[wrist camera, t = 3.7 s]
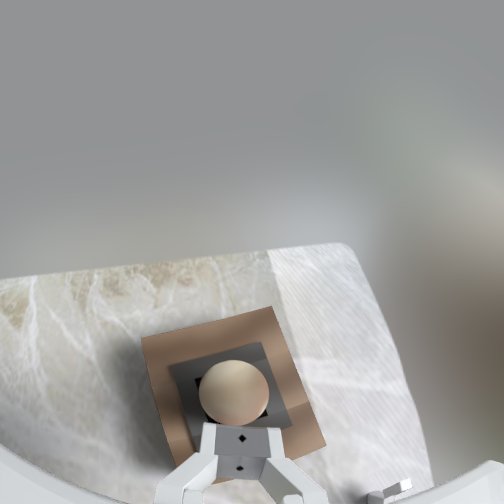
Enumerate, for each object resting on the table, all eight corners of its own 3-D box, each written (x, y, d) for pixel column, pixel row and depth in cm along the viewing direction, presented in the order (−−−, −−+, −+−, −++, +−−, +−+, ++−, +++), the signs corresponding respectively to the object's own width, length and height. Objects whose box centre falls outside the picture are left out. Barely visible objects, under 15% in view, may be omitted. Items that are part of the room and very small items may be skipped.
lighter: (377, 513, 21) (409, 525, 15) (366, 516, 21) (397, 530, 15) (379, 472, 25) (413, 478, 19) (368, 475, 25) (401, 482, 19)
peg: (262, 414, 24) (278, 413, 18) (213, 428, 23) (211, 433, 16) (246, 369, 27) (255, 352, 20) (198, 382, 25) (190, 369, 19)
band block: (303, 440, 28) (328, 446, 21) (193, 474, 24) (184, 491, 17) (261, 329, 36) (272, 303, 29) (156, 355, 32) (139, 336, 25)
